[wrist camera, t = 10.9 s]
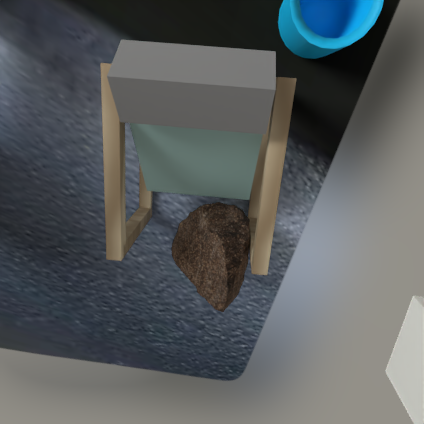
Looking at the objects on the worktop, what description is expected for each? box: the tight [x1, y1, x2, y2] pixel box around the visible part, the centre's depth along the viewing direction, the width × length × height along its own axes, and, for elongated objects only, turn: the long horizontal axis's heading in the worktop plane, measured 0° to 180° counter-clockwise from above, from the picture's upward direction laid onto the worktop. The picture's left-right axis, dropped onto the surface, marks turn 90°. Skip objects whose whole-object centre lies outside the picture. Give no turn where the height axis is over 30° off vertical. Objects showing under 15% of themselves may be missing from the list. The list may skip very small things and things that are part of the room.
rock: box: [172, 202, 250, 312], centre depth 41 cm, size 12×10×10 cm
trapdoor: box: [107, 40, 276, 200], centre depth 32 cm, size 12×17×4 cm
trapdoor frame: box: [101, 63, 296, 275], centre depth 36 cm, size 16×18×13 cm
